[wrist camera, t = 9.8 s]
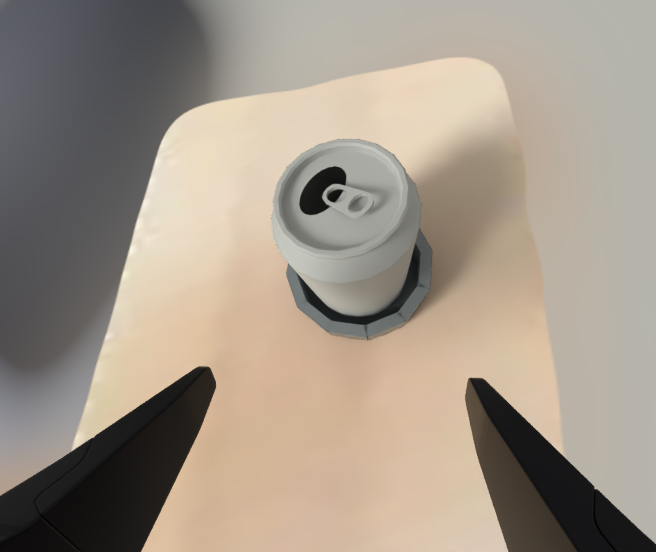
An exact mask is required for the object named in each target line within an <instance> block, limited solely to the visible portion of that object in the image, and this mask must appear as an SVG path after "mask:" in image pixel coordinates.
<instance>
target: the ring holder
mask: <svg viewBox="0 0 656 552" xmlns="http://www.w3.org/2000/svg"><path fill="white" fill-rule="evenodd" d="M431 266H432V249H431V247H430V246H429V244H428V242H427V241H426V239H425V237H424V235H423V234H422V232H421V230H420V228H419V230H418V234H417V238H416V242H415V246H414V249H413V253H412V257H411V261H410V265H409V269H408V273H407V277H406V281H405V284H404V286H403V289H402V291H401V293H400V295H399V297H398V298H397V299H396V301H395V302H394V303H393V304H392V305H391V306H390V307H389V308H388V309H386V310H384V311H382V312H380V313H378V314H376V315H375V316H369V317H364V318H354V317H346V316H343V315H341V314H339V313H337V312H335V311H332V310H331V309H330V308H329V307H328V306H327V305H326V304H325V303H324V302H323V301H322V300H321V299H320V298H319V297H318V296H317V295H316V294H315V293H314V291H313V290H312V289H311V288H310V287H309V286H308V285H307V284H306V282H305V281H304V280H303V279H302V278H301V277H300V276H299V275H298V273H297V272H296V271H295V270H294V269H293V268H292V267H291V266H290V264H289V263H288V267H287V272H286V274H287V275H286V276H287V279H288V282H289V284H290V287H291V290H292V293H293V296H294V299H295V302H296V305H297V307H298V308H299V309H300V310H301V311H302V312H303V313H305V314H306V315H307V316H308V317H310V318H311V319H312V320H313V321H314V322H316V323H317V324H318V325H319V326H321V327H322V328H323V329H324V330H325V331H327V332H328V333H330V334H331V335H334V336H341V337H346V338H351V339H361V340H368V339H369V340H372V339H374V338H376V337H379V336H382V335H385V334H388V333H390V332H392V331H394V330H396V329H398V328H401V327H403V326H404V325H405V324H406V322H407V321H408V320H409V318H410V317H411V316H412V314H413V313H414V312H415V310H416V309H417V307H418V306H419V305H420V303H421V302H422V301H423V299H424V298H425V296H426V295H427V293H428V291H429V290H430V283H431Z"/></svg>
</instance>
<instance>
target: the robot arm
mask: <svg viewBox="0 0 656 552" xmlns="http://www.w3.org/2000/svg"><path fill="white" fill-rule="evenodd" d="M215 389H216V381H215V378H214V376H213V373H212V371H211V369H210V368H209V367H205V366H199V367H197V368H195V369H193V370H192V371H191V372H189V373H188V374H186V375H185V376H183V377H182V378H180V379H179V380H177V381H176V382H174V383H173V384H171V385H170V386H168V387H167V388H165V389H164V390H162V391H161V392H159V393H158V394H156V395H155V396H153V397H152V398H151V399H149V400H148V401H146V402H145V403H143V404H142V405H140V406H139V407H137V408H136V409H134V410H133V411H131V412H130V413H128V414H127V415H125V416H124V417H122V418H121V419H119V420H118V421H116V422H115V423H113V424H112V425H110V426H109V427H107V428H106V429H105V430H103V431H102V432H100V433H99V434H97V435H96V436H95V437H94V438H91V439H90V440H88V441H87V442H85V443H84V444H82V445H81V446H79V447H78V448H76V449H75V450H73V451H72V452H70V453H69V454H67V455H66V456H64V457H63V458H61V459H59V460H58V461H56V462H55V463H53V464H51V465H50V466H48V467H47V468H45V469H43V470H42V471H40V472H39V473H37V474H36V475H34V476H32V477H30V478H29V479H27V480H25V481H24V482H22V483H21V484H19V485H17V486H16V487H14V488H13V489H11V490H9V491H7V492H6V493H4V494H2V495H1V496H0V552H141V551H142V549H143V547H144V545H145V542H146V540H147V538H148V536H149V534H150V532H151V530H152V528H153V526H154V524H155V522H156V520H157V518H158V516H159V514H160V511H161V509H162V507H163V505H164V503H165V501H166V499H167V497H168V495H169V493H170V491H171V489H172V487H173V485H174V483H175V480H176V478H177V476H178V474H179V472H180V470H181V468H182V466H183V464H184V462H185V460H186V458H187V456H188V454H189V452H190V449H191V447H192V445H193V443H194V441H195V439H196V437H197V435H198V433H199V431H200V428H201V426H202V423H203V421H204V418H205V415H206V413H207V410H208V407H209V405H210V402H211V399H212V397H213V394H214V391H215ZM465 401H466V406H467V411H468V416H469V420H470V425H471V430H472V435H473V439H474V444H475V448H476V453H477V456H478V460H479V463H480V466H481V469H482V472H483V475H484V478H485V481H486V484H487V487H488V490H489V493H490V497H491V500H492V503H493V506H494V509H495V512H496V515H497V518H498V521H499V524H500V527H501V530H502V533H503V536H504V539H505V542H506V545H507V548H508V552H656V544H655V543H654V542H653V541H652V540H651V539H649V538H648V537H647V536H646V535H645V534H644V533H643V532H642V531H641V530H639V529H638V528H637V527H636V526H635V525H634V524H633V523H632V522H631V521H630V520H629V519H628V518H627V517H626V516H625V515H624V514H622V513H621V512H620V511H619V510H618V509H617V508H616V507H615V506H614V505H613V504H612V503H611V502H610V501H609V500H608V499H607V498H606V497H605V496H604V495H602V493H600V491H599V490H597V489H595V490H594V486H593V485H592V484H591V483H590V482H589V481H588V480H587V479H586V478H585V477H584V476H583V475H582V474H581V473H580V472H579V471H578V470H577V469H576V468H575V467H574V466H573V465H572V464H571V463H570V462H569V461H568V460H567V459H566V458H565V457H564V456H563V455H562V454H560V453H559V452H558V451H557V450H556V449H555V448H554V447H553V446H552V445H551V444H550V443H549V442H548V441H547V440H546V439H545V438H544V437H543V436H542V435H541V434H540V433H539V432H538V431H537V430H536V429H535V428H534V427H533V426H532V425H531V424H530V423H529V422H528V421H527V420H526V419H525V418H524V417H522V416H521V415H520V414H519V413H518V412H517V411H516V410H515V409H514V408H513V407H512V406H511V405H510V404H509V403H508V402H507V401H506V400H505V399H504V398H503V397H502V396H501V395H500V394H499V393H498V392H497V391H496V390H495V389H494V388H493V387H492V386H491V385H490V384H489V383H488V382H487V381H486V380H484V379H482V378H469V379H468V383H467V389H466V395H465Z"/></svg>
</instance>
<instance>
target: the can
mask: <svg viewBox="0 0 656 552" xmlns="http://www.w3.org/2000/svg"><path fill="white" fill-rule="evenodd" d="M420 213H421V202H420V199H419V195H418V192H417V189H416V185H415V183H414V182H413V181H412V179H411V178H410V177H409V175H408V174H407V173H406V171H405V168H404V167H403V166H402V165H401V163H400V162H399V161H398V159H397V158H396V157H395V156H394V154H392V153H391V152H389V151H387V150H386V149H384V148H383V147H381V146H380V145H378V144H375V143H371V142H368V141H364V140H360V139H337V140H333V141H329V142H326V143H322V144H318V145H317V146H315V147H313V148H311V149H309V150H307V151H306V152H304V153H302V154H301V155H300V156H298V157H297V158H296V159H295V160H294V161H293V162H292V163H291V164H290V165H289V166H288V167H287V168H286V170H285V171H284V173H283V175H282V176H281V178H280V179H279V181H278V183H277V186H276V190H275V194H274V198H273V213H272V217H271V219H272V231H273V238H274V240H275V242H276V245H277V247H278V249H279V251H280V253H281V255H282V257H283V258H284V259H285V260H286V261H287V262H288V263H289V264H290V266H291V267H292V268H293V269H294V270H295V271H296V272H297V273H298V275H299V276H300V277H301V278H302V279H303V280H304V281H305V282H306V284H307V285H308V286H309V287H310V288H311V289H312V290H313V291H314V293H315V294H316V295H317V296H318V297H319V298H320V299H321V300H322V301H323V302H324V303H325V304H326V305H327V306H328V307H329V308H330V309H331V310H332V311H335V312H337V313H339V314H341V315H343V316H346V317H354V318H364V317H369V316H375V315H376V314H378V313H380V312H382V311H384V310H386V309H388V308H389V307H390V306H391V305H392V304H393V303H394V302H395V301H396V299H397V298H398V297H399V295H400V293H401V291H402V289H403V286H404V284H405V281H406V277H407V273H408V269H409V265H410V261H411V257H412V253H413V249H414V246H415V242H416V238H417V234H418V230H419V225H420Z"/></svg>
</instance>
